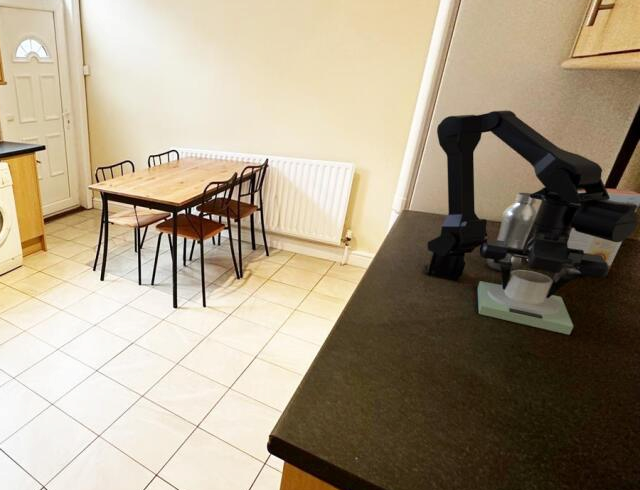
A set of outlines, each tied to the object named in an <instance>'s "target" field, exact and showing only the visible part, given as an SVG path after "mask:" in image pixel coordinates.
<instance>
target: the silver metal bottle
mask: <svg viewBox="0 0 640 490" xmlns="http://www.w3.org/2000/svg"><path fill="white" fill-rule="evenodd" d="M530 194H532V192H518V193H517V195H516V198H515V199H514V201H515V202H514V203H513V204H511V205H510V206H508V207H507V208H506V209H505V210H504V211H503V212H502V217H501V223H500V228H499V232H498V235H497V238H496V240H500V241H507V246H508V247H513V248H520V249H523V247H524V244H525V242H526V239H527V236H528V234H529V231H530V229H531V226H532V223H533V221H534V218H535V216H536V213H537V209H536V208H535V206H534V205H535V204H536V203H537V199H535V198H531V197H529V195H530ZM486 259H487V260H486V263H487V265H488V266H489V267H490V268H492V269H494V270H496V271H497V270H498V271H500V272H501V267H500V264H497V263H494V261H493V259H488V258H486ZM511 261H512V267H511V269H510V272H511V271H513V270H518V269H519V267H520V265H521V263H522V258H518V257H512V258H511Z"/></svg>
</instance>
